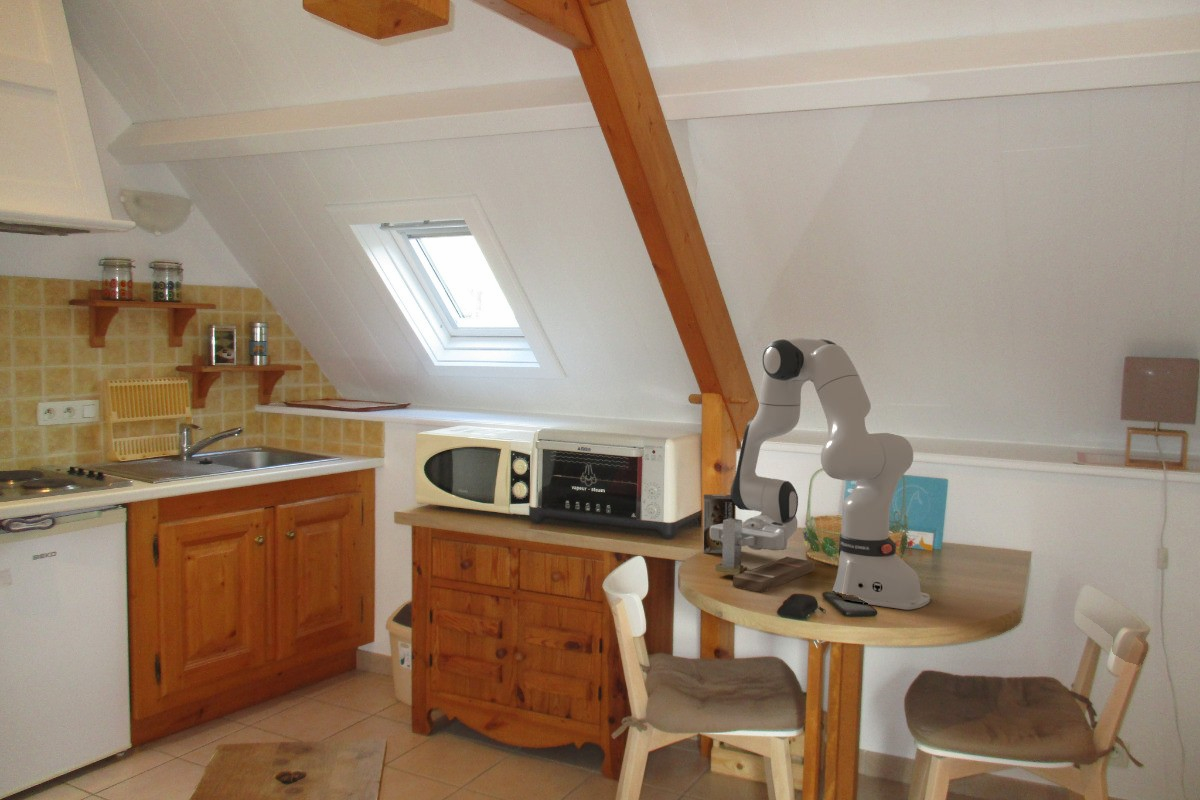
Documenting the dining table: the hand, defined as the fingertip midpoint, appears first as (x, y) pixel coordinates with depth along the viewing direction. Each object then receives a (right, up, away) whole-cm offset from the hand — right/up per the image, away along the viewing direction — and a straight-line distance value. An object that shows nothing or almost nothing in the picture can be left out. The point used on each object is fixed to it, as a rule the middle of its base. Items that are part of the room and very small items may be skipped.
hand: (731, 541), depth 240 cm
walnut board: (+11, -10, 0) cm, 15 cm away
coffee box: (0, -8, +30) cm, 31 cm away
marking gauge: (0, -8, +1) cm, 8 cm away
